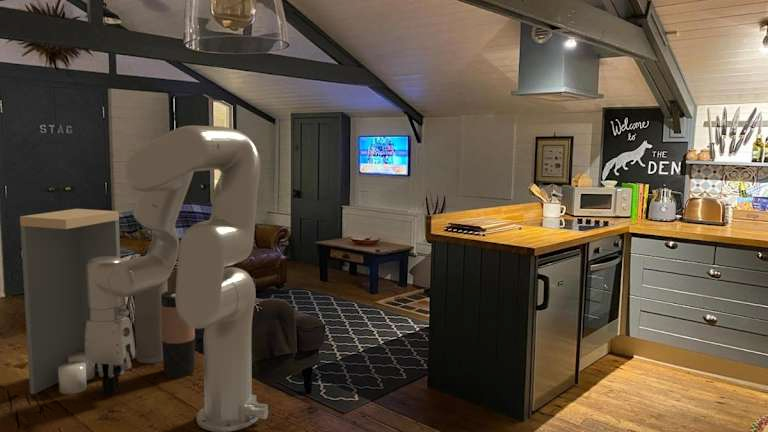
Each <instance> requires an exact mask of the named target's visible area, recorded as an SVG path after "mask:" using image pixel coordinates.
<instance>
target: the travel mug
mask: <svg viewBox="0 0 768 432" xmlns="http://www.w3.org/2000/svg"><path fill="white" fill-rule="evenodd" d="M175 293H176V291H175V292H171V291H166V292H164V293H162V295H161V307H162V348H163V361H162V363H163V373H164V376H166V377H168V378H184V377H187V376H190V375H193V373H195V366H196V365H195V363H196V362H195V361H196V360H195V357H196V356H195V354H196V331H195V330H196V328H192V327H190V326H188V325H186V324H185V323H184V322H183V321H182V320H181V318H180V317H179V315H178V312H177V309H176V301H175Z"/></svg>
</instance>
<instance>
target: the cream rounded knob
mask: <svg viewBox="0 0 768 432" xmlns="http://www.w3.org/2000/svg"><path fill="white" fill-rule="evenodd" d="M76 361H79V362H84V363H86V380H87V381H89V380H92V379H94V378H95V376H96V372H95V367H93V366H91V365H89V364H88V360H87V359H86V357H85V351H81V352H76V353H73V354H70V355H69V356H68V362H76Z"/></svg>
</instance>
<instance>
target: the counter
mask: <svg viewBox="0 0 768 432" xmlns="http://www.w3.org/2000/svg"><path fill="white" fill-rule="evenodd" d="M119 213H120V212H119V211H117V210H102V209H90V208H89V209H87V208H71V209H65V210H58V211H51V212H43V213H37V214H36V213H35V214H29V215H21V216H19V222H20V238H21V239H20V242H21V254H22V255H21V257H22V259H21V260H22V273H23V275H22V276H23V291H24V292H23V293H24V295H23V296H24V311H25V329H26V344H27V345H26V346H27V360H28V361H27V362H28V363H27V366H28V377H29V378H28V379H29V381H28V382H29V394H30V395H31V394H32V395H36V394H37V393H40V392H42V391H44V390H45V389H47V388H49V387H52V386H54V385H56V384H59V376H58V367H59V366H60V365H62V364H65V363H68V356H69V355H70V354H73V353H76V352H81V351H85V329H86V322H87V319H88V297H87V277H86V264H87V262H88V261H89V260H90V259H93V258H96V257H103V256H115V257H119V258H121V247H120V246H121V242H120V240H121V238H120V235H121V234H120V215H119ZM95 373H99V371H98V370H97V369H96V368H95ZM122 375H125V370H123V371H121V373H120V374H118V376H122Z"/></svg>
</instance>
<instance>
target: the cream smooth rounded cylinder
mask: <svg viewBox="0 0 768 432" xmlns="http://www.w3.org/2000/svg"><path fill="white" fill-rule="evenodd" d="M58 376H59V382H58V392H59V393H60V394H63V395H73V394H77V393H81V392H83V391H85V390H86V389H87V387H88V385H87V381H88V380H86V363H84V362H79V361H76V362H68V363H65V364H62V365H60V366H59V367H58Z"/></svg>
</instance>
